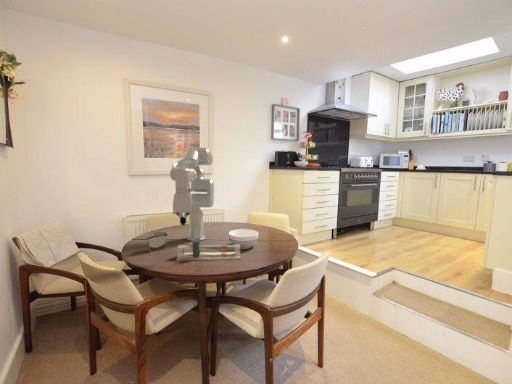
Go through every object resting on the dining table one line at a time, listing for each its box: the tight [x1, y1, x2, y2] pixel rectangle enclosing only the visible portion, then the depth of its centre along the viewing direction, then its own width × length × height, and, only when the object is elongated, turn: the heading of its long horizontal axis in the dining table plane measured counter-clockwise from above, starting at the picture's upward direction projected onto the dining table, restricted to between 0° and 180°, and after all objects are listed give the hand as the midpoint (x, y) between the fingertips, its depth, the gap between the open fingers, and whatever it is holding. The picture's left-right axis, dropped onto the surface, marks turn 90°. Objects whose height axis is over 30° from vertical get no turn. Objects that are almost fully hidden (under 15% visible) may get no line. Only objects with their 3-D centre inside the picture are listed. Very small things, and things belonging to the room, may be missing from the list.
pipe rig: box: [176, 244, 241, 262], centre depth 139 cm, size 9×34×6 cm, turn 96°
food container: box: [146, 231, 168, 254], centre depth 149 cm, size 12×6×10 cm, turn 135°
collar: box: [192, 238, 201, 257], centre depth 138 cm, size 7×3×8 cm, turn 6°
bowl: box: [228, 228, 259, 250], centre depth 158 cm, size 19×19×9 cm
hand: (183, 224), depth 135 cm, fingers closed
